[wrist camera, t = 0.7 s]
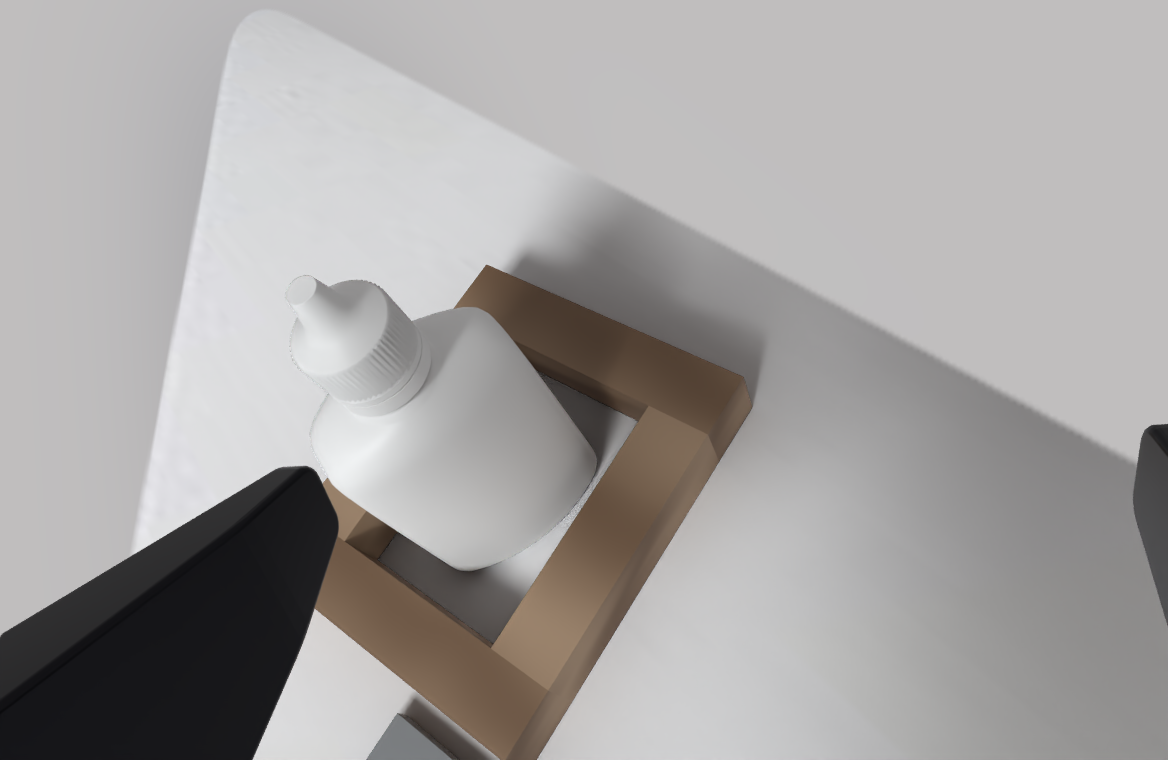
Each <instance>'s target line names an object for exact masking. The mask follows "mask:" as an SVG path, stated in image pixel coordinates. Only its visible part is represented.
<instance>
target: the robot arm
mask: <svg viewBox="0 0 1168 760" xmlns="http://www.w3.org/2000/svg"><path fill="white" fill-rule="evenodd" d="M1133 505H1134V513H1135V517H1136V521H1137V525H1138V528H1139V531H1140V535H1141V538H1142V541H1143V545H1144V548H1145V551H1146V555H1147V558H1148V561H1149V565H1150V568H1151V572H1152V575H1153V578H1154V582H1155V585H1156V588H1157V592H1158V595H1159V598H1160V602H1161V605H1162V608H1163V612H1164V615H1165V618H1166V622H1167V625H1168V424H1164V425H1163V424H1162V425H1151V426H1150V427H1148V428H1147V429H1146V430H1145V431H1144V433H1143V436H1142V438H1141V443H1140V450H1139V457H1138V464H1137V470H1136V477H1135V484H1134V491H1133ZM338 532H339V521H338V516H337V513H336V511H335V509H334V507H333V505H332V503H331V501H330V498H329V496H328V494H327V492H326V490H325V488H324V486H323V484H322V482H321V480H320V477H319V476H318V474H317V472H316V471H315V470H314V469H312V468H311V467H308V466H293V467H281V468H278V469H276V470H274V471H272V472H270V473H269V474H267V475H265V476H264V477H262V478H260V479H259V480H257V481H255V482H254V483H252V484H250V485H249V486H247V487H246V488H244V489H242V490H241V491H239V492H237V493H236V494H234V495H232V496H231V497H229V498H227V499H226V500H224V501H222V502H221V503H219V504H217V505H216V506H214V507H212V508H211V509H209V510H207V511H206V512H204V513H202V514H201V515H199V516H197V517H196V518H194V519H192V520H191V521H189V522H187V523H186V524H184V525H182V526H181V527H179V528H177V529H176V530H174V531H172V532H171V533H169V534H167V535H166V536H164V537H162V538H161V539H159V540H157V541H156V542H154V543H152V544H151V545H149V546H147V547H146V548H144V549H142V550H141V551H139V552H137V553H136V554H134V555H132V556H131V557H129V558H127V559H126V560H124V561H122V562H121V563H119V564H117V565H116V566H114V567H113V568H111V569H109V570H107V571H106V572H104V573H102V574H101V575H99V576H97V577H96V578H94V579H92V580H91V581H89V582H88V583H86V584H84V585H82V586H81V587H79V588H78V589H76V590H74V591H73V592H71V593H69V594H68V595H66V596H64V597H63V598H61V599H59V600H58V601H56V602H54V603H53V604H51V605H49V606H48V607H46V608H44V609H43V610H41V611H39V612H38V613H36V614H34V615H33V616H31V617H29V618H28V619H26V620H24V621H23V622H21V623H19V624H18V625H16V626H14V627H13V628H11V629H9V630H8V631H6V632H4V633H3V634H2V635H1V637H0V760H253V757H254V755H255V753H256V751H257V748H258V746H259V744H260V741H261V739H262V737H263V734H264V732H265V730H266V728H267V725H268V723H269V721H270V718H271V716H272V714H273V712H274V709H275V707H276V705H277V702H278V700H279V698H280V695H281V693H282V691H283V689H284V686H285V684H286V682H287V679H288V677H289V675H290V673H291V670H292V668H293V666H294V663H295V661H296V659H297V656H298V654H299V651H300V649H301V646H302V644H303V641H304V638H305V635H306V633H307V630H308V627H309V624H310V621H311V618H312V615H313V612H314V608H315V605H316V602H317V599H318V596H319V593H320V590H321V587H322V584H323V581H324V577H325V574H326V571H327V568H328V565H329V562H330V559H331V556H332V553H333V549H334V546H335V543H336V540H337V537H338Z"/></svg>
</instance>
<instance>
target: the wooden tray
mask: <svg viewBox="0 0 1168 760" xmlns="http://www.w3.org/2000/svg"><path fill="white" fill-rule="evenodd" d="M461 307H476V308H479V309H481V310H483V311H485V312H487V313H489V314H490V315H491V316H492V317H493V318H494V319H495V320H496V321H497V322H498V323H499V324H500V325H501V327H502V328H503V329H504V330H505V331H506V333H507V334H508V335H509V336H510V338H511V339H512V340H513V341H514V343H515V344H516V345H517V346H518V348H519V349H520V350H521V352H522V353H523V354H524V356H525V357H526V358H527V359H528V361H529V362H530V363H531V365H532V366H533V367H534V369H535V370H537V371H539V372H541V373H543V374H545V375H547V376H549V377H551V378H553V379H555V380H557V381H559V382H561V383H563V384H565V385H567V386H569V387H571V388H573V389H575V390H577V391H579V392H581V393H583V394H585V395H587V396H589V397H591V398H593V399H595V400H597V401H599V402H601V403H603V404H605V405H607V406H609V407H611V408H613V409H615V410H617V411H619V412H621V413H623V414H625V415H627V416H629V417H631V418H633V419H635V420H637V421H638V423H637V424H636V426H635V428H634V429H633V431H632V432H631V434H630V435H629V437H628V438H627V440H626V441H625V443H624V444H623V446H622V448H621V449H620V451H619V452H618V454H617V455H616V457H615V458H614V460H613V461H612V463H611V464H610V466H609V468H608V469H607V471H606V472H605V474H604V475H603V477H602V478H601V480H600V481H599V483H598V484H597V486H596V488H595V489H594V491H593V492H592V494H591V495H590V497H589V498H588V500H587V501H586V503H585V504H584V506H583V507H582V509H581V511H580V512H579V514H578V515H577V517H576V518H575V520H574V521H573V523H572V524H571V526H570V527H569V529H568V531H567V532H566V534H565V535H564V537H563V538H562V540H561V541H560V543H559V544H558V546H557V547H556V549H555V551H554V552H553V554H552V555H551V557H550V558H549V560H548V561H547V563H546V564H545V566H544V567H543V569H542V571H541V572H540V574H539V575H538V577H537V578H536V580H535V581H534V583H533V584H532V586H531V587H530V589H529V591H528V592H527V594H526V595H525V597H524V598H523V600H522V601H521V603H520V604H519V606H518V607H517V609H516V611H515V612H514V614H513V615H512V617H511V618H510V620H509V621H508V623H507V624H506V626H505V627H504V629H503V631H502V632H501V634H500V635H499V637H498V638H497V640H496V641H495V643H494V644H492V643H491V642H490V641H488V640H487V639H485V638H484V637H483V636H481V635H480V634H479V633H477V632H476V631H474V630H473V629H472V628H470V627H469V626H468V625H466V624H465V623H463V622H462V621H461V620H459V619H458V618H457V617H455V616H454V615H452V614H451V613H450V612H448V611H447V610H446V609H444V608H443V607H442V606H440V605H439V604H437V603H436V602H435V601H433V600H432V599H431V598H429V597H428V596H426V595H425V594H424V593H422V592H421V591H420V590H418V589H417V588H415V587H414V586H413V585H411V584H410V583H409V582H407V581H406V580H404V579H403V578H402V577H400V576H399V575H398V574H396V573H395V572H393V571H392V570H391V569H389V568H388V567H387V566H385V565H384V564H382V563H381V562H380V561H378V558H379V557H380V555H381V554H382V553H383V551H384V550H385V548H386V547H387V546H388V544H389V543H390V541H391V540H392V538H393V537H394V536H395V534H396V533H397V531H396V530H395V529H393V528H392V527H390V526H389V525H387V524H386V523H384V522H383V521H381V520H380V519H378V518H377V517H375V516H373V515H372V514H370V513H369V512H367V511H366V510H365V509H363V508H362V507H360V506H359V505H358V504H356V503H355V502H353V501H352V500H351V499H349V498H348V497H346V496H345V495H344V494H342V493H341V492H340V491H339V490H338V489H337V488H335V487H334V486H333V485H332V483H331V482H330V480H329V479H328V477H327V479H326V480H325V481H324V483H323V486H324V488H325V490H326V492H327V494H328V496H329V498H330V501H331V503H332V505H333V507H334V509H335V511H336V513H337V516H338V521H339V532H338V537H337V540H336V543H335V546H334V549H333V553H332V556H331V559H330V562H329V565H328V568H327V571H326V574H325V577H324V581H323V584H322V587H321V590H320V593H319V596H318V599H317V602H316V605H315V609H316V610H317V611H318V612H320V613H321V614H322V615H323V616H325V617H326V618H327V619H328V620H330V621H331V622H332V623H333V624H334V625H336V626H337V627H338V628H339V629H341V630H342V631H343V632H344V633H346V634H347V635H348V636H349V637H350V638H352V639H353V640H354V641H355V642H357V643H358V644H359V645H360V646H362V647H363V648H364V649H365V650H366V651H368V652H369V653H370V654H371V655H373V656H374V657H375V658H376V659H378V660H379V661H380V662H381V663H382V664H384V665H385V666H386V667H387V668H389V669H390V670H391V671H392V672H394V673H395V674H396V675H397V676H398V677H400V678H401V679H402V680H403V681H405V682H406V683H407V684H408V685H409V686H411V687H412V688H413V689H414V690H416V691H417V692H418V693H419V694H421V695H422V696H423V697H424V698H425V699H427V700H428V701H429V702H430V703H432V704H433V705H434V706H435V707H437V708H438V709H439V710H440V711H441V712H443V713H444V714H445V715H446V716H448V717H449V718H450V719H451V720H453V721H454V722H455V723H456V724H457V725H459V726H460V727H461V728H462V729H464V730H465V731H466V732H467V733H469V734H470V735H471V736H472V737H473V738H475V739H476V740H477V741H478V742H480V743H481V744H482V745H483V746H485V747H486V748H487V749H488V750H489V751H491V752H492V753H493V754H494V755H496V756H497V757H498V758H499V759H500V760H537V758H538V756H539V755H540V753H541V752H542V750H543V748H544V747H545V745H546V743H547V742H548V740H549V738H550V737H551V735H552V734H553V732H554V730H555V729H556V727H557V725H558V724H559V722H560V720H561V719H562V717H563V716H564V714H565V712H566V711H567V709H568V707H569V706H570V704H571V703H572V701H573V699H574V698H575V696H576V694H577V693H578V691H579V689H580V688H581V686H582V685H583V683H584V681H585V680H586V678H587V676H588V675H589V673H590V672H591V670H592V668H593V667H594V665H595V663H596V662H597V660H598V658H599V657H600V655H601V654H602V652H603V650H604V649H605V647H606V645H607V644H608V642H609V641H610V639H611V637H612V636H613V634H614V632H615V631H616V629H617V627H618V626H619V624H620V623H621V621H622V619H623V618H624V616H625V614H626V613H627V611H628V609H629V608H630V606H631V605H632V603H633V601H634V600H635V598H636V596H637V595H638V593H639V592H640V590H641V588H642V587H643V585H644V583H645V582H646V580H647V578H648V577H649V575H650V574H651V572H652V570H653V569H654V567H655V565H656V564H657V562H658V561H659V559H660V557H661V556H662V554H663V552H664V551H665V549H666V547H667V546H668V544H669V543H670V541H671V539H672V538H673V536H674V534H675V533H676V531H677V530H678V528H679V526H680V525H681V523H682V521H683V520H684V518H685V516H686V515H687V513H688V512H689V510H690V508H691V507H692V505H693V503H694V502H695V500H696V498H697V497H698V495H699V494H700V492H701V490H702V489H703V487H704V485H705V484H706V482H707V481H708V479H709V477H710V476H711V474H712V472H713V471H714V469H715V467H716V466H717V464H718V463H719V461H720V459H721V458H722V456H723V454H724V453H725V451H726V450H727V448H728V446H729V445H730V443H731V441H732V440H733V438H734V436H735V435H736V433H737V432H738V430H739V428H740V427H741V425H742V423H743V422H744V420H745V418H746V417H747V415H748V414H749V412H750V410H751V409H752V404H751V401H750V398H749V394H748V391H747V387H746V384H745V380H744V377H742V376H740V375H738V374H736V373H733V372H731V371H729V370H726V369H724V368H722V367H720V366H717V365H715V364H713V363H710V362H708V361H706V360H704V359H701V358H699V357H697V356H694V355H692V354H690V353H688V352H685V351H683V350H681V349H678V348H676V347H674V346H672V345H669V344H667V343H665V342H662V341H660V340H658V339H656V338H653V337H651V336H649V335H646V334H644V333H642V332H640V331H637V330H635V329H633V328H630V327H628V326H626V325H624V324H621V323H619V322H617V321H614V320H612V319H610V318H608V317H605V316H603V315H601V314H598V313H596V312H594V311H592V310H589V309H587V308H585V307H582V306H580V305H578V304H576V303H573V302H571V301H569V300H566V299H564V298H562V297H560V296H557V295H555V294H553V293H550V292H548V291H546V290H544V289H541V288H539V287H537V286H534V285H532V284H530V283H528V282H525V281H523V280H521V279H518V278H516V277H514V276H512V275H509V274H507V273H505V272H502V271H500V270H498V269H496V268H493V267H491V266H489V265H486V266H485V267H484V268H483V270H482V271H481V273H480V274H479V275H478V277H477V278H476V279H475V281H474V282H473V283H472V285H471V286H470V287H469V289H468V290H467V291H466V293H465V294H464V295H463V297H462V298H461V299H460V301H459V302H458V303H457V305H456V306H455V307H454V309H455V308H461Z"/></svg>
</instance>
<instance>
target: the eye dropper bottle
mask: <svg viewBox="0 0 1168 760" xmlns="http://www.w3.org/2000/svg"><path fill="white" fill-rule="evenodd" d="M285 298H286V301H287V302H288V304H289V305H290V307H291V308H292V310H293V311H294V313H295V314H296V316H297V319H296V321H295V323H294V326H293V328H292V332H291V336H290V352H291V357H292V360H293V361H294V364H295V365H296V366H297V368H298V369H299V370H300V371H301V372H302V373H304V374H305V375H306V376H307V377H309V378H310V379H311V380H312V381H313V382H315V383H316V384H317V385H318V386H320V387H321V388H322V389H323V390H324V391H326V392H327V393H328V394H327V396H326V398H325V399H324V401H323V403H322V404H321V406H320V408H319V410H318V412H317V414H316V416H315V418H314V420H313V424H312V427H311V430H310V443H311V448H312V450H313V452H314V455H315V457H316V459H317V460H318V462H319V464H320V466H321V468H322V469H323V471H324V473H325V474H326V476H327V477H328V479H329V480H330V482H331V483H332V485H333V486H334V487H335V488H337V489H338V490H339V491H340V492H341V493H342V494H344V495H345V496H346V497H348V498H349V499H351V500H352V501H353V502H355V503H356V504H358V505H359V506H360V507H362V508H363V509H365V510H366V511H367V512H369V513H370V514H372V515H373V516H375V517H377V518H378V519H380V520H381V521H383V522H384V523H386V524H387V525H389V526H390V527H392V528H393V529H395V530H396V531H398V532H399V533H401V534H402V535H404V536H405V537H407V538H408V539H410V540H411V541H413V542H415V543H416V544H418V545H419V546H421V547H422V548H424V549H425V550H427V551H428V552H430V553H431V554H433V555H435V556H436V557H438V558H439V559H441V560H442V561H444V562H445V563H447V564H449V565H450V566H452V567H453V568H455V569H457V570H461V571H474V570H478V569H482V568H485V567H488V566H491V565H494V564H496V563H499V562H501V561H504V560H506V559H508V558H510V557H512V556H514V555H516V554H518V553H520V552H521V551H523V550H525V549H526V548H528V547H530V546H531V545H533V544H534V543H535V542H537V541H538V540H540V539H541V538H542V537H544V536H545V535H546V534H547V533H548V532H550V531H551V530H552V529H553V528H554V527H555V526H556V525H557V524H558V523H559V522H560V521H561V520H562V519H563V518H564V517H565V516H566V515H567V514H568V513H569V511H570V510H571V509H572V508H573V507H574V505H575V504H576V503H577V501H578V500H579V499H580V497H581V496H582V494H583V493H584V492H585V490H586V488H587V487H588V485H589V484H590V482H591V480H592V478H593V476H594V474H595V471H596V465H597V458H596V455H595V452H594V450H593V448H592V447H591V446H590V444H589V443H588V441H587V440H586V439H585V437H584V436H583V434H582V433H581V432H580V430H579V429H578V428H577V426H576V425H575V423H574V422H573V421H572V419H571V418H570V417H569V415H568V414H567V412H566V411H565V410H564V408H563V407H562V406H561V404H560V403H559V401H558V400H557V399H556V397H555V396H554V395H553V393H552V392H551V391H550V389H549V388H548V386H547V385H546V384H545V382H544V381H543V380H542V378H541V377H540V376H539V374H538V373H537V372H536V370H535V369H534V367H533V366H532V365H531V363H530V362H529V361H528V359H527V358H526V357H525V356H524V354H523V353H522V352H521V350H520V349H519V348H518V346H517V345H516V344H515V343H514V341H513V340H512V339H511V338H510V336H509V335H508V334H507V333H506V331H505V330H504V329H503V328H502V327H501V325H500V324H499V323H498V322H497V321H496V320H495V319H494V318H493V317H492V316H491V315H490V314H489V313H487V312H485V311H483V310H481V309H479V308H476V307H461V308H455V309H450V310H446V311H442V312H439V313H435V314H431V315H428V316H425V317H422V318H419V319H417V320H414V321H411V320H410V319H409V318H408V317H407V316H406V314H405V313H404V312H403V311H402V310H401V309H400V308H399V307H398V305H397V304H396V303H395V302H394V301H393V300H392V299H391V298H390V297H389V295H388V294H387V293H386V292H385V291H384V290H383V289H382V288H380V286H377V285H376V284H373V283H372V282H368V281H363V280H349V281H344V282H340V283H337V284H335V285H332V286H330V287H328V286H327V285H325V284H323V283H322V282H320V281H318V280H317V279H315V278H313V277H312V276H309V275H305V276H301V277H298V278H296V279H295V280H294V281H292V282H291V283H290V285H289V286H288V288H287V290H286V293H285Z"/></svg>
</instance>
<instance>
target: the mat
mask: <svg viewBox="0 0 1168 760" xmlns="http://www.w3.org/2000/svg"><path fill="white" fill-rule="evenodd" d="M366 760H459V759H458V758H457V757H456V756H454V755H453V754H452V753H451V752H450V751H448V750H447V749H446V748H445V747H444V746H442V745H441V744H440V743H439V742H438V741H436V740H435V739H434V738H433V737H432V736H431V735H429V734H428V733H427V732H426V731H425V730H423V729H422V728H421V727H420V726H419V725H417V724H416V723H415V722H414V721H413V720H411V719H410V718H409V717H408V716H406V715H402V714H398V713H397V714H396V716H395V717H394V719H393V720H392V722H391V723H390V725H389V726H388V728H387V729H386V731H385V732H384V734H383V735H382V737H381V738H380V740H379V741H378V743H377V744H376V746H375V747H374V749H373V750H372V752H371V753H370V755H369V756H368V758H367V759H366Z"/></svg>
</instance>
